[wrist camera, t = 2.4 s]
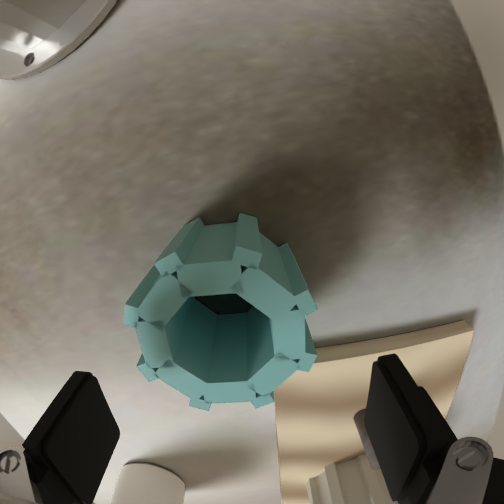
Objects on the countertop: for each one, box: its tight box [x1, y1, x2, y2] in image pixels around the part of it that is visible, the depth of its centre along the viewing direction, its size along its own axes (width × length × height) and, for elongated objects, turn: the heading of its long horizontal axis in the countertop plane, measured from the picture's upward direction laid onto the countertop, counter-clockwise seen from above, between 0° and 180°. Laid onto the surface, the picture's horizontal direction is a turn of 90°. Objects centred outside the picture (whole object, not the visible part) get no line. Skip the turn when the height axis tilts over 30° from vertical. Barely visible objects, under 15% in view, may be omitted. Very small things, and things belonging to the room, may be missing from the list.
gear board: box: [274, 320, 474, 504], centre depth 19 cm, size 20×14×6 cm
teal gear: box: [123, 213, 317, 411], centre depth 15 cm, size 7×7×6 cm
